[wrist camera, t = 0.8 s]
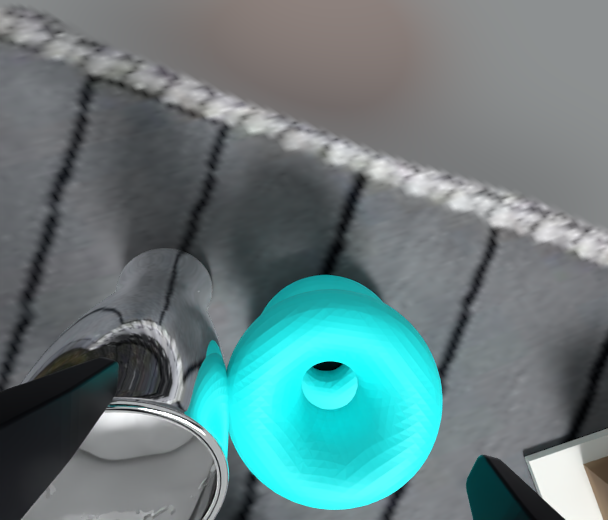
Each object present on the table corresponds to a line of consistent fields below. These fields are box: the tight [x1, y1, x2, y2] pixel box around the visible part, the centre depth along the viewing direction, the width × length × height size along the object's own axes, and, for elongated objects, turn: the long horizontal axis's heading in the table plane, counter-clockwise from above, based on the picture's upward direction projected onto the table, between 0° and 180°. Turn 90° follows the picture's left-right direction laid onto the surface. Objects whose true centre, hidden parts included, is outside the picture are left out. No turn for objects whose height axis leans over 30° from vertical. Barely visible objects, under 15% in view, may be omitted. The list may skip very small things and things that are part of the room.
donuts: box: [226, 275, 442, 510], centre depth 18 cm, size 10×10×10 cm
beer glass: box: [20, 248, 229, 520], centre depth 15 cm, size 7×7×15 cm
